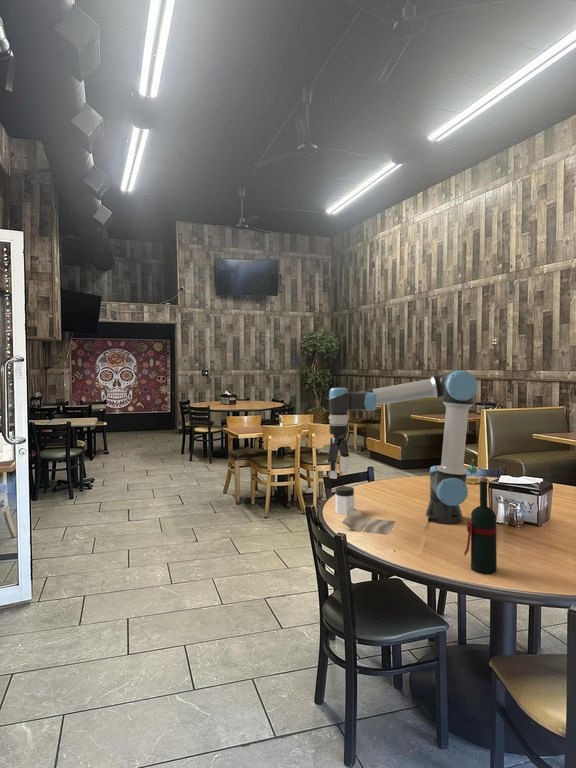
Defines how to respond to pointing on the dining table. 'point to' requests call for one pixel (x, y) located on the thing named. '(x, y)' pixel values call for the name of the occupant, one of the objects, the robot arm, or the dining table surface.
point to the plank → (356, 520)
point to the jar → (344, 500)
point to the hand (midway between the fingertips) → (338, 475)
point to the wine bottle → (482, 535)
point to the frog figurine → (472, 470)
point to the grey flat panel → (383, 528)
